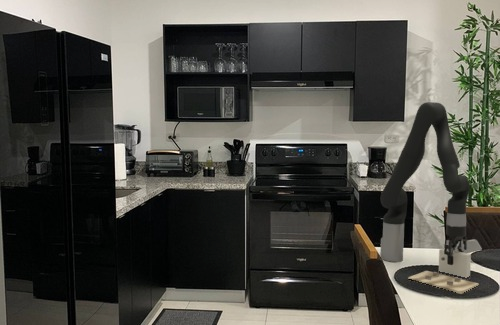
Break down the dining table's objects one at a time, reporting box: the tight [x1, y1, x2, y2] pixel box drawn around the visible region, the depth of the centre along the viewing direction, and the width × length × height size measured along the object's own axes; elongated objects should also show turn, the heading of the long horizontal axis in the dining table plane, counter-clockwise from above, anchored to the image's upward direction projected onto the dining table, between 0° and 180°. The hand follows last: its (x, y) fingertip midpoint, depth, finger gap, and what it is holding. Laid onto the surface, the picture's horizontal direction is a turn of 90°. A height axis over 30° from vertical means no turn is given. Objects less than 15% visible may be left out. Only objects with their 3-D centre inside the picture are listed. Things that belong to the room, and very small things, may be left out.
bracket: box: [443, 238, 483, 254], centre depth 229 cm, size 4×10×15 cm
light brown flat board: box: [407, 270, 480, 295], centre depth 198 cm, size 22×14×2 cm, turn 41°
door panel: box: [438, 247, 472, 278], centre depth 207 cm, size 12×4×10 cm, turn 41°
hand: (455, 262), depth 207 cm, fingers open, 8 cm apart
